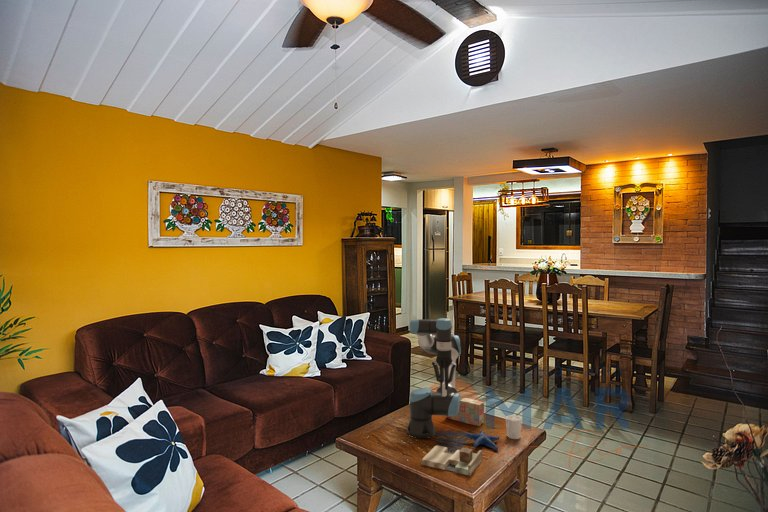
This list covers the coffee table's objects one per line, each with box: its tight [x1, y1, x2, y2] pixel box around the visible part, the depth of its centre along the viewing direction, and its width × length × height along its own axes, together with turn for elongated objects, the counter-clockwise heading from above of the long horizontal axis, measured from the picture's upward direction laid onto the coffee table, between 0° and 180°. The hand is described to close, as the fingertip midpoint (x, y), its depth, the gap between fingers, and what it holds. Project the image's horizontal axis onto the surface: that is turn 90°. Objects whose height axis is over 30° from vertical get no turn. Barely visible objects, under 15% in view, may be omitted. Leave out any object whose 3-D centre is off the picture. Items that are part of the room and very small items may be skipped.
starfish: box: [464, 430, 500, 452], centre depth 231 cm, size 19×19×5 cm
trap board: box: [421, 444, 483, 477], centre depth 212 cm, size 23×17×4 cm
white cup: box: [505, 414, 522, 440], centre depth 240 cm, size 8×8×10 cm
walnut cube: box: [459, 447, 473, 463], centre depth 209 cm, size 4×4×4 cm
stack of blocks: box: [445, 397, 485, 427], centre depth 264 cm, size 21×6×12 cm, turn 52°
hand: (444, 395), depth 233 cm, fingers closed
